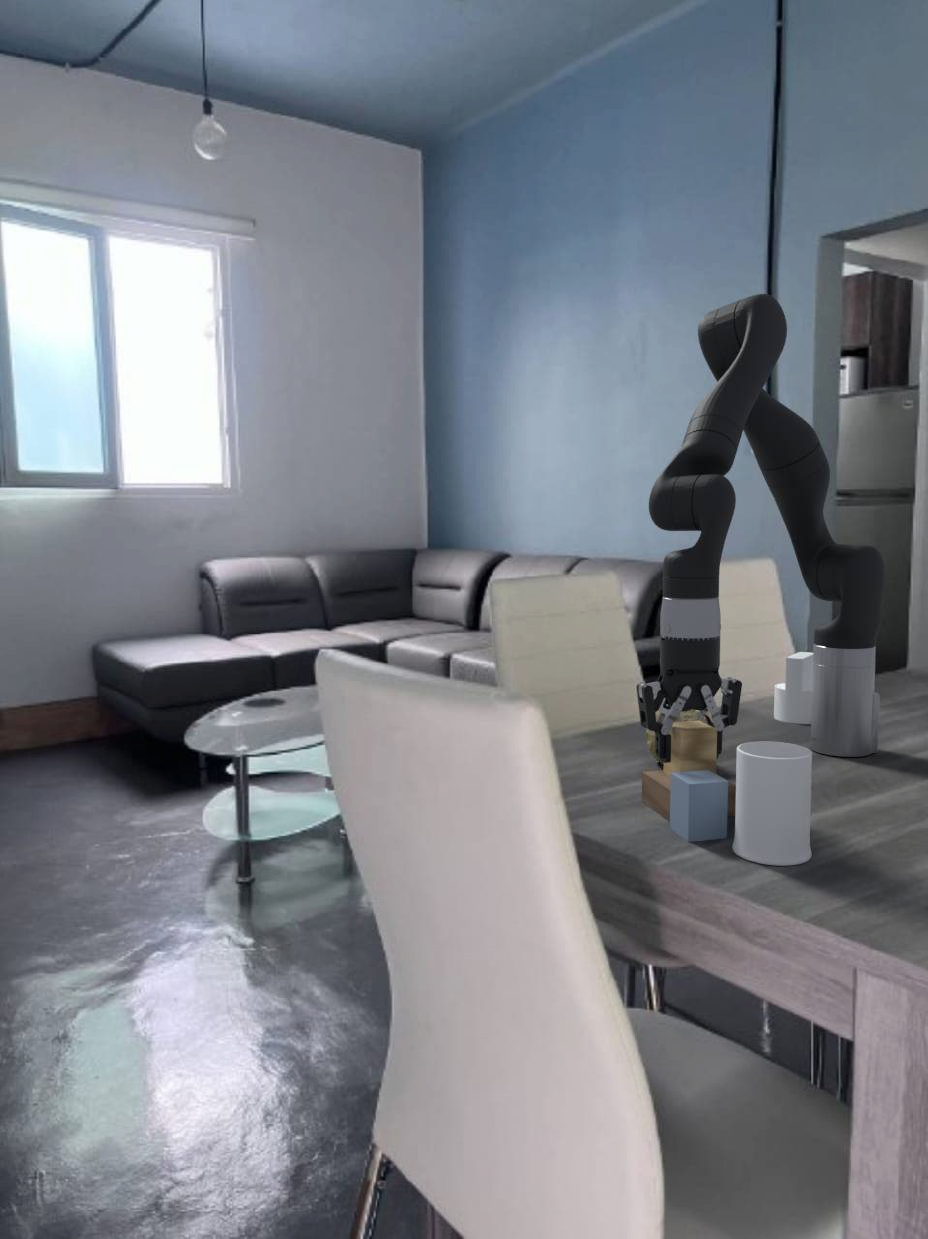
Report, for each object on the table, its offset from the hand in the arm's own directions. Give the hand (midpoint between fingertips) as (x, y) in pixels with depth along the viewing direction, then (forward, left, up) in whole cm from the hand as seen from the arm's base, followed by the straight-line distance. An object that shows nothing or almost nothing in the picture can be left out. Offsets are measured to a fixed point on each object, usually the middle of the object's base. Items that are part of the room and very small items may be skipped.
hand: (688, 759), depth 121 cm
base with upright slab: (-44, -44, -7) cm, 63 cm away
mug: (-3, +16, -7) cm, 17 cm away
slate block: (+3, +9, -7) cm, 12 cm away
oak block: (0, 0, -3) cm, 3 cm away
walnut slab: (0, 0, -7) cm, 7 cm away
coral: (-8, -21, -7) cm, 24 cm away
